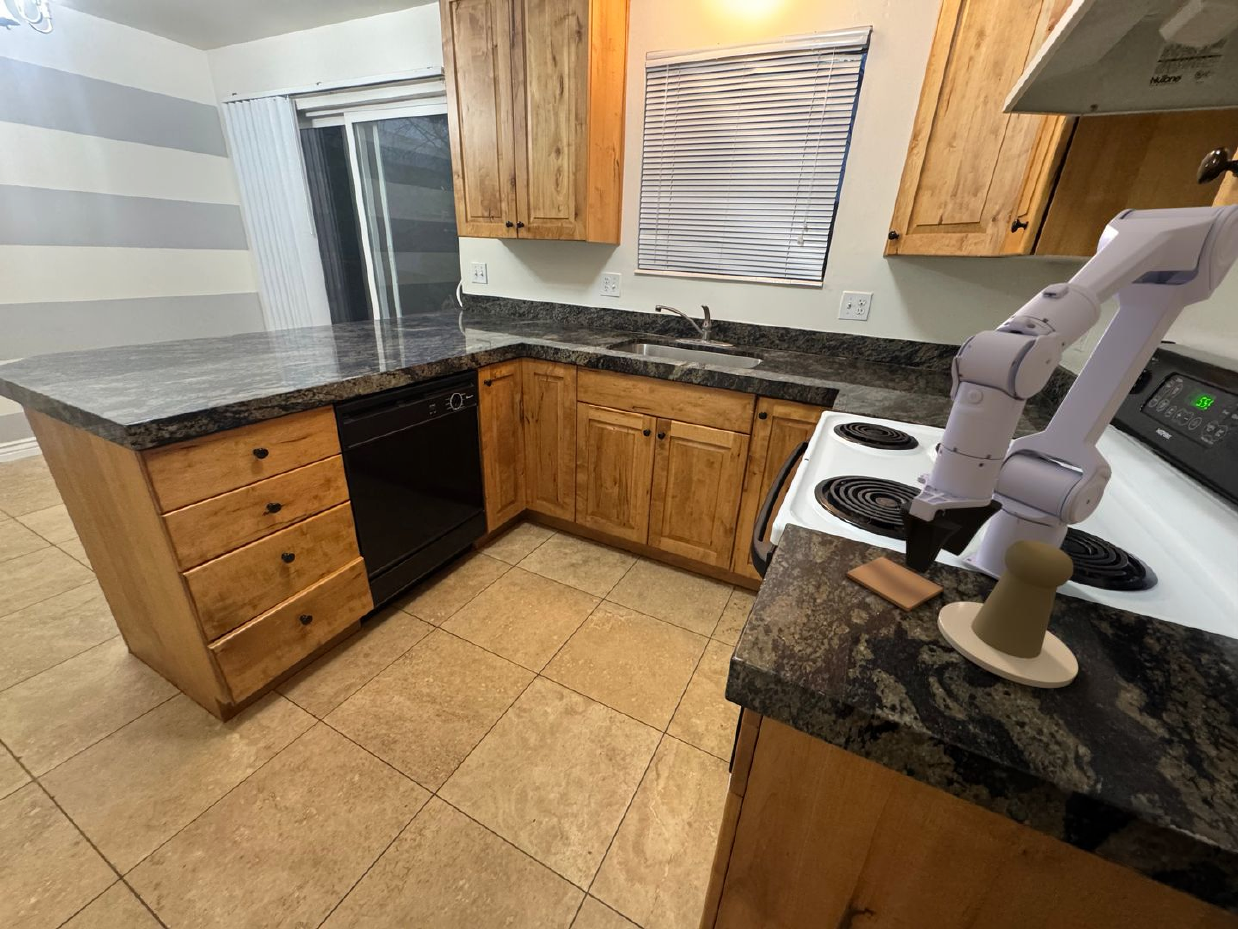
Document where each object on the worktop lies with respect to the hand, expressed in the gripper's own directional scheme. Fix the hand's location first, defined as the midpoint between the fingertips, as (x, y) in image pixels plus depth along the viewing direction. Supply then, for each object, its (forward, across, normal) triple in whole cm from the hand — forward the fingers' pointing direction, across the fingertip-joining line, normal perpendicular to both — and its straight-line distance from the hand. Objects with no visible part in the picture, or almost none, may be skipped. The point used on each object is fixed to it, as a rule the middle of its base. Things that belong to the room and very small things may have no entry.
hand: (933, 559), depth 57 cm
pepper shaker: (+5, 0, +9) cm, 10 cm away
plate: (+5, 0, +9) cm, 10 cm away
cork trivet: (+5, 0, -3) cm, 6 cm away
